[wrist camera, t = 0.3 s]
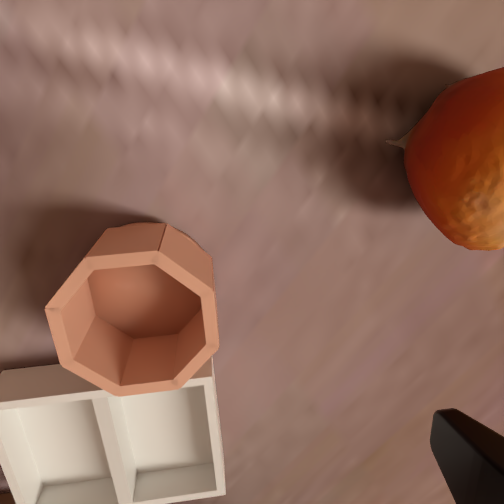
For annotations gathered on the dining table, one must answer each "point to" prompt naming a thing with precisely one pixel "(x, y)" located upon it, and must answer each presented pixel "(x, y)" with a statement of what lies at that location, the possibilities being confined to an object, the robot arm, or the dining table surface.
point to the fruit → (461, 161)
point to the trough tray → (108, 440)
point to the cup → (137, 311)
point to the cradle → (7, 498)
